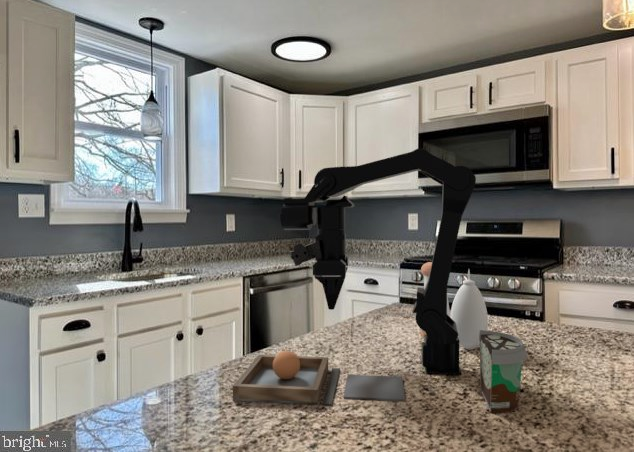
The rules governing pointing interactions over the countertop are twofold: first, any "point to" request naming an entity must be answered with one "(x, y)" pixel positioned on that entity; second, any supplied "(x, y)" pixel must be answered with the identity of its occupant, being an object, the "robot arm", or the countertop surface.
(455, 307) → the sauce bottle
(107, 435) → the countertop surface
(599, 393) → the countertop surface
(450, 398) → the countertop surface
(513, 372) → the food container
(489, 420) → the countertop surface
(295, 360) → the ball
